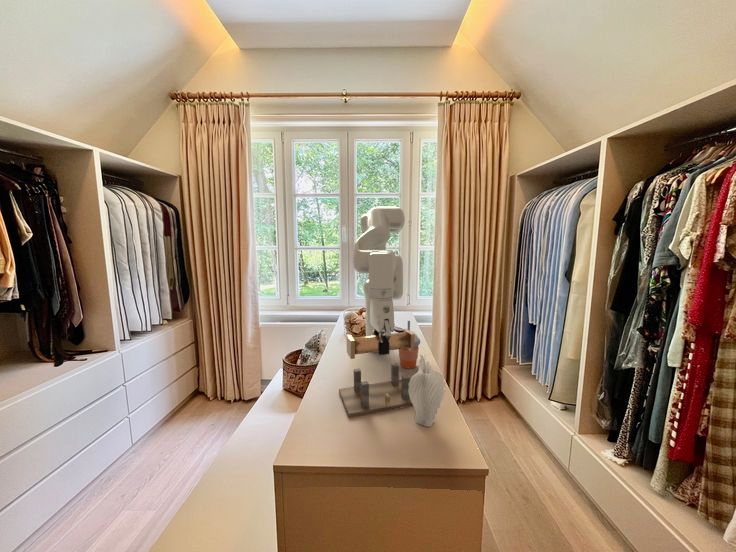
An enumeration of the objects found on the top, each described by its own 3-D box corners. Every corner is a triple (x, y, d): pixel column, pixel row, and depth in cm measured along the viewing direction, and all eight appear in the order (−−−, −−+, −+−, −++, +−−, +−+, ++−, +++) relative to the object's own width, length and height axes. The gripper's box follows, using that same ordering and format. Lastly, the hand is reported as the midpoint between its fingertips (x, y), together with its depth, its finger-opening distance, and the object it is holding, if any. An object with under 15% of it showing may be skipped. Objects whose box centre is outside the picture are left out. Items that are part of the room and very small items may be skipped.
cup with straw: (419, 371, 111) (420, 325, 109) (395, 369, 113) (395, 323, 111) (420, 361, 120) (421, 318, 118) (397, 359, 122) (398, 317, 119)
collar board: (339, 392, 97) (338, 368, 96) (406, 381, 104) (407, 359, 102) (348, 417, 83) (348, 390, 82) (425, 403, 90) (426, 378, 89)
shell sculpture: (436, 435, 76) (438, 369, 73) (406, 425, 80) (407, 362, 77) (444, 418, 83) (447, 357, 81) (416, 409, 87) (418, 351, 85)
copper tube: (350, 359, 86) (350, 340, 85) (346, 352, 91) (346, 334, 91) (414, 351, 92) (414, 334, 91) (407, 345, 97) (407, 328, 96)
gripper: (403, 298, 82) (402, 360, 85) (383, 287, 98) (382, 340, 101) (378, 299, 80) (377, 363, 82) (361, 288, 96) (361, 342, 99)
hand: (380, 350), depth 92 cm, fingers closed on copper tube, 5 cm apart
